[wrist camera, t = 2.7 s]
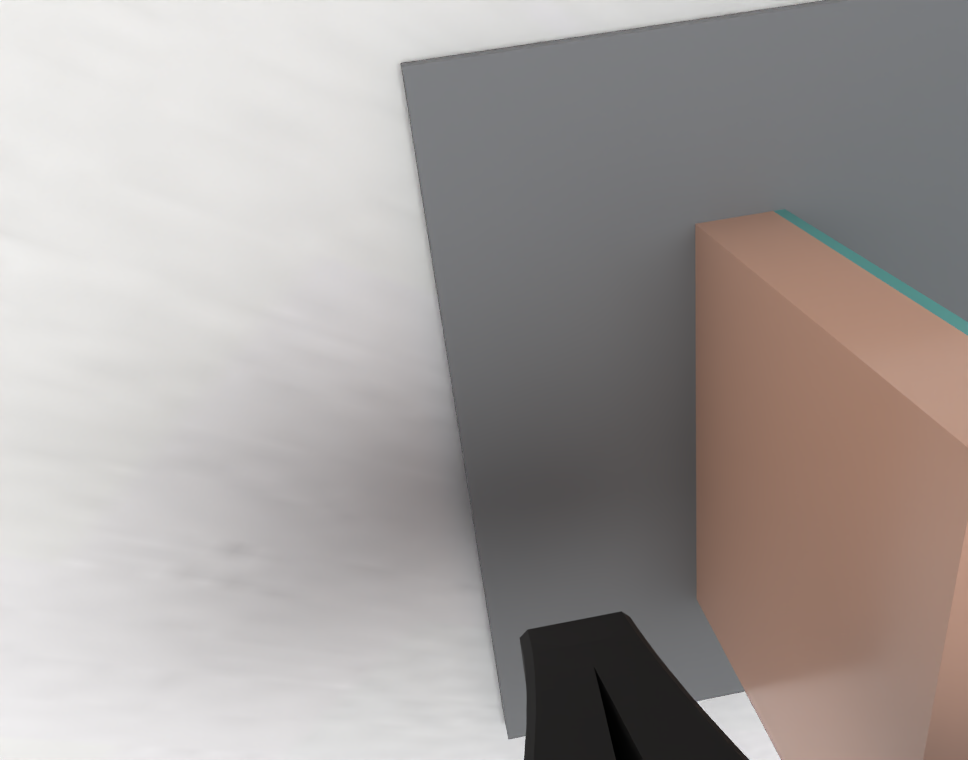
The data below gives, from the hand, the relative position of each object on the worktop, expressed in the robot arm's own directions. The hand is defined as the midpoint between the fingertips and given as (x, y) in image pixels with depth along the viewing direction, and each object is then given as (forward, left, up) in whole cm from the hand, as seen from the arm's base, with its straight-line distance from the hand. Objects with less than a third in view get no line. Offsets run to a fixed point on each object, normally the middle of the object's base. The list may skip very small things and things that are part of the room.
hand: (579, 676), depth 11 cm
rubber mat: (-8, 0, -5) cm, 10 cm away
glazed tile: (-4, 0, -5) cm, 6 cm away
